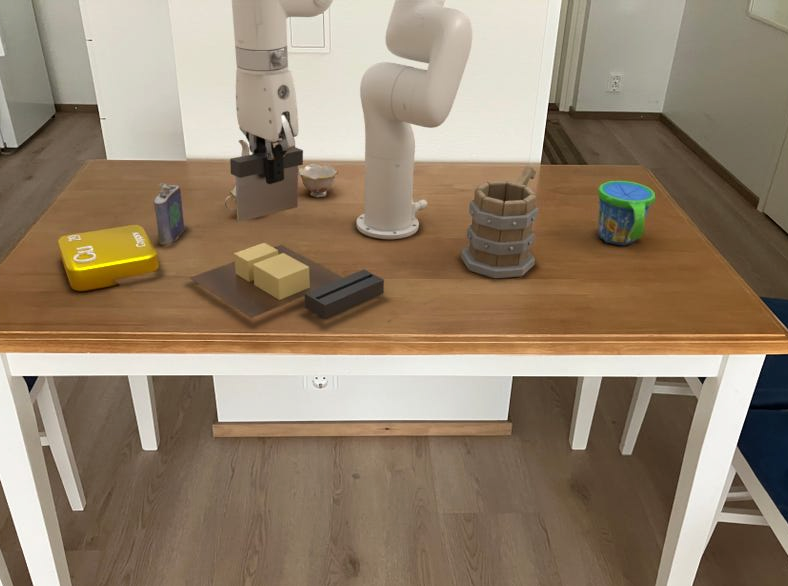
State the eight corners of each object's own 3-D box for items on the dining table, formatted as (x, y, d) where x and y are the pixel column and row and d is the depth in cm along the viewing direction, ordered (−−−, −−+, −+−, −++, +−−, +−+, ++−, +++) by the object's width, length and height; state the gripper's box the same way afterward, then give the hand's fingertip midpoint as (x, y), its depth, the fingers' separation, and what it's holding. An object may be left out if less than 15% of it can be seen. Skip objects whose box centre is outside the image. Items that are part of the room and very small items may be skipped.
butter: (284, 273, 136) (283, 252, 134) (309, 287, 132) (309, 266, 130) (254, 285, 132) (252, 264, 130) (279, 300, 128) (278, 278, 126)
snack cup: (655, 256, 149) (667, 206, 143) (601, 255, 148) (611, 205, 143) (631, 222, 162) (641, 175, 156) (581, 222, 161) (589, 175, 156)
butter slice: (265, 262, 139) (264, 242, 137) (279, 270, 137) (278, 250, 134) (235, 273, 135) (233, 253, 133) (249, 282, 133) (247, 261, 131)
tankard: (513, 285, 138) (524, 205, 129) (451, 265, 143) (457, 188, 135) (556, 245, 152) (569, 171, 143) (498, 229, 157) (507, 157, 149)
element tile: (162, 277, 136) (158, 253, 134) (73, 294, 131) (67, 268, 128) (144, 243, 148) (140, 220, 145) (60, 257, 142) (55, 233, 139)
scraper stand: (363, 289, 135) (363, 269, 133) (383, 300, 132) (384, 279, 130) (305, 314, 127) (304, 293, 125) (325, 326, 124) (324, 305, 122)
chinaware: (252, 236, 155) (252, 157, 145) (199, 205, 163) (195, 128, 153) (347, 197, 173) (353, 125, 163) (295, 171, 181) (298, 101, 171)
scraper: (293, 204, 131) (293, 146, 126) (302, 208, 130) (303, 150, 125) (232, 219, 123) (230, 158, 118) (241, 224, 122) (239, 162, 117)
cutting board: (281, 251, 146) (281, 244, 145) (345, 286, 136) (345, 278, 135) (190, 285, 134) (189, 277, 134) (252, 325, 124) (251, 317, 123)
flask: (170, 247, 146) (162, 193, 140) (155, 246, 147) (146, 192, 141) (187, 228, 154) (180, 176, 148) (173, 226, 154) (166, 175, 148)
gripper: (317, 65, 111) (319, 187, 121) (250, 45, 120) (257, 160, 131) (275, 73, 106) (281, 199, 117) (209, 51, 116) (220, 170, 126)
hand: (268, 178), depth 124 cm, fingers closed on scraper, 2 cm apart
